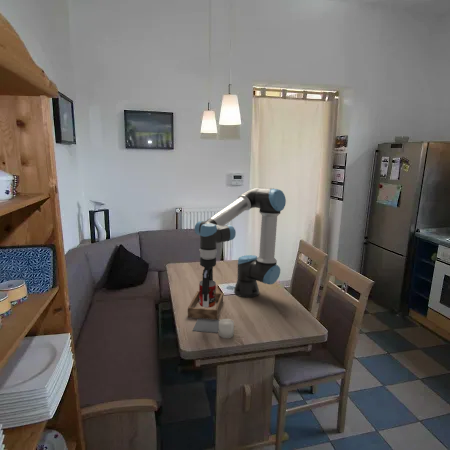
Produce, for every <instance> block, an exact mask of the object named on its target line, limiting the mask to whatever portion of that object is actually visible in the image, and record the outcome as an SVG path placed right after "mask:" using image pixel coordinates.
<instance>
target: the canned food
mask: <svg viewBox="0 0 450 450" xmlns="http://www.w3.org/2000/svg"><path fill="white" fill-rule="evenodd" d="M202 282H203V279H202V280H200V281H199V285H198V286H199V287H198V291H199V301H198V303H199V306H200V307H201V308H204V307H203V294H201V293H202ZM216 286H217V283H216V280H213V281H212V280H209V292H208V293H209V307H205V309H210V308H212V307H214V306H215V305H216V301H215V297H216V293H217V292H216V290H217V287H216Z"/></svg>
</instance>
